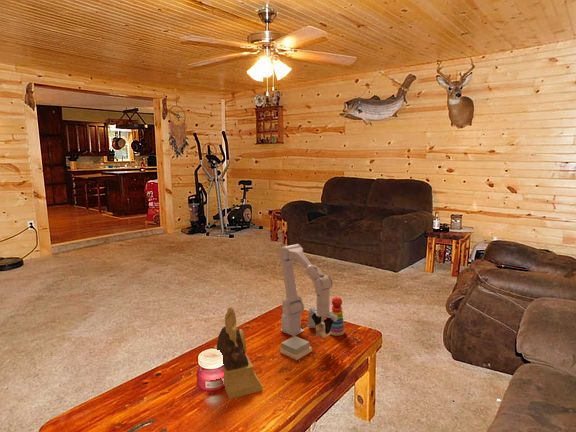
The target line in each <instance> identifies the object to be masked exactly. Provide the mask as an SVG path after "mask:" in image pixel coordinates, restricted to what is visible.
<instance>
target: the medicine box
mask: <svg viewBox="0 0 576 432" xmlns="http://www.w3.org/2000/svg"><path fill="white" fill-rule="evenodd" d="M312 315H313V313H309V311H308V316H307V317H308V319H307V320H308V329H316V326H315V323H314V321H313V319H312ZM324 320H325V317H322V318H321V322H323V323H324Z"/></svg>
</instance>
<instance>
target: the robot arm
mask: <svg viewBox="0 0 576 432" xmlns="http://www.w3.org/2000/svg"><path fill="white" fill-rule="evenodd" d="M278 254H279V259H280V263H281V267H282V268H281V269H282V275H283V281H284V283H283V284H284V287H285V297H284V299H282V307H281V310H282V315H281V319H280V320H281V321H280V322H281V324H280V325H281V329H280V332H282V333H285V334H288V335H290V336H291V337H293V336H296V337H297V335H299V334H301V333H303V332H304V331H305V329H302V328H301V324H302V322H301V318H302V312H304V310H305V305H304V302H303V298H302V297H301V296H300V295H298V292H297V285H296V280H295V279H296V278H295V273H294V272H295V271H294V265H293V264H294V262H295V261H297V262H298V264H299V265H301V266H302V268H304V269H305V274H306V275H307V277H309V278H310V280H311V281H312V282H313V287H314V289H315V294H316V307H310V308H308V312H309V313H313V315H312V319H313V321H314V323H315V326H316V325H318V324H320V323H321V318H322V317H324V323H325V332H326V334H328V333H330V329H331V326H332V324H333V322H334V321H337V320H338V316H336V315H334V314H333V313H331V311H330V300H331V299H330V288H332V287H333V279H332V278H331V277H330V275H329V274H328V275H327V274H325V273H324V272H322V271H321V269H320V268H319V267H318V265H316V264H312V263H311V262H310V260H309V259H308V258H307V256H306V255H305V253H304V248H303V247H302V246H301V245H300V243H295V244H290V245H286V246H281V247H280V248H279V250H278Z"/></svg>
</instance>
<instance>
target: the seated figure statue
mask: <svg viewBox="0 0 576 432" xmlns="http://www.w3.org/2000/svg"><path fill="white" fill-rule="evenodd" d="M224 325H225V326H223V327H222V328H221V330H220V332H219V334H218V337H217V343H216V345H214V346H213V348H214V349H217V350H220V352H221V353H222V355H223V364H224V365H223V371H224V385H225V388H224V389H225V393H226V394H227V397H228V399H229V400H231V399H235V398H238V397H243V396H247V395H250V394H254V393H258V392H262V391H264V390H263V384H262V382H261V381H260V379H259V378H258V375H257V374H256V372H255V370H254V365H253V363H252V361H251V360H250V358H249V356H248V355H247V343H246V337H245V333H244V331H243V329H242V328H240V329H239V328H238V326H237V317H236V312H235V309H234V307H232V306H229V307H228V308H227V312H226V313H225V315H224ZM214 349H213V350H214ZM224 385H223V386H224Z"/></svg>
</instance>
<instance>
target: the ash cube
mask: <svg viewBox="0 0 576 432" xmlns="http://www.w3.org/2000/svg"><path fill="white" fill-rule="evenodd" d="M315 336H317V337H320V338H322V339H325V338H326V337H329V336H331V334H330V333H328V334H326V332H325V323H323V322H321V323H320V324H318V325H316V328H315Z"/></svg>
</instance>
